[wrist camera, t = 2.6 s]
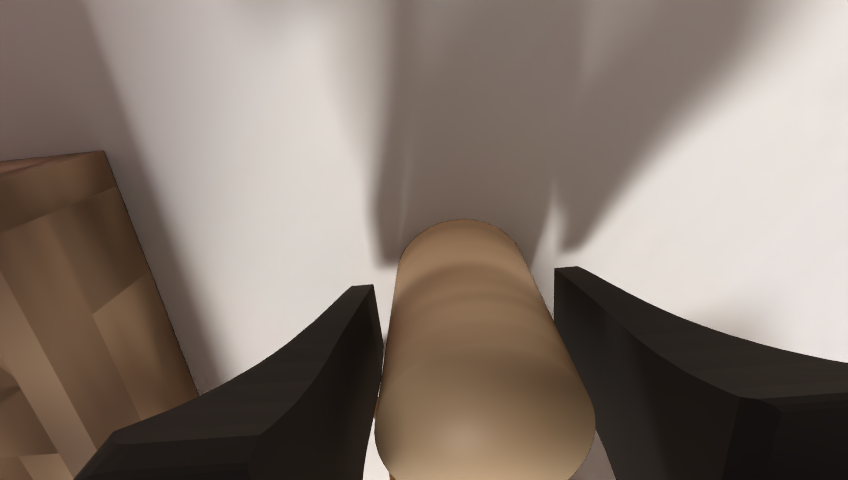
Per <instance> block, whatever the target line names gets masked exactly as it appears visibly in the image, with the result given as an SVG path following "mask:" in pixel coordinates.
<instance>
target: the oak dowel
mask: <svg viewBox="0 0 848 480" xmlns="http://www.w3.org/2000/svg"><path fill="white" fill-rule="evenodd" d="M374 434H375V443H376V447H377V450H378V454H379V456H380V458H381V460H382V462H383V464H384V465H385V467H386V468H387V470H388V471H389V473H390V474H391V475H392V476H393V477H394V478H395V479H396V480H568V479H569V478H570V477H571V476H572V475H573V474H574V473H575V472H576V471H577V470H578V469H579V467H580V466H581V464H582V463H583V462H584V460H585V459H586V457H587V455H588V453H589V451H590V449H591V446H592V443H593V440H594V434H595V414H594V409H593V405H592V402H591V400H590V397H589V395H588V393H587V391H586V389H585V387H584V384H583V382H582V380H581V378H580V376H579V374H578V372H577V370H576V368H575V366H574V363H573V361H572V359H571V357H570V355H569V353H568V351H567V349H566V347H565V344H564V342H563V340H562V338H561V336H560V334H559V332H558V330H557V328H556V325H555V323H554V321H553V319H552V317H551V315H550V313H549V311H548V309H547V306H546V304H545V302H544V300H543V298H542V296H541V294H540V292H539V290H538V287H537V285H536V283H535V281H534V279H533V277H532V275H531V273H530V271H529V268H528V266H527V264H526V262H525V260H524V258H523V256H522V254H521V252H520V250H519V248H518V247H517V245H516V244H515V243H514V241H513V240H512V239H511V238H510V237H509V236H508V235H507V234H505V233H504V232H503V231H501V230H500V229H498V228H496V227H494V226H492V225H490V224H487V223H484V222H480V221H476V220H467V219H460V220H451V221H446V222H442V223H439V224H436V225H434V226H432V227H430V228H428V229H426V230H425V231H423V232H422V233H420V234H419V235H418V236H416V237H415V238H414V239H413V240H412V241H411V243H410V244H409V245H408V246H407V248H406V249H405V251H404V253H403V254H402V256H401V259H400V262H399V265H398V269H397V275H396V282H395V289H394V296H393V303H392V309H391V316H390V323H389V330H388V337H387V344H386V350H385V357H384V364H383V371H382V378H381V384H380V391H379V398H378V405H377V412H376V419H375V430H374Z"/></svg>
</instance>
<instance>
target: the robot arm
mask: <svg viewBox="0 0 848 480" xmlns="http://www.w3.org/2000/svg"><path fill="white" fill-rule="evenodd" d="M554 323H555V325H556V328H557V330H558V332H559V334H560V336H561V338H562V340H563V342H564V344H565V347H566V349H567V351H568V353H569V355H570V357H571V359H572V361H573V363H574V366H575V368H576V370H577V372H578V374H579V376H580V378H581V380H582V382H583V384H584V387H585V389H586V391H587V393H588V395H589V397H590V400H591V402H592V405H593V409H594V414H595V428H596V430H597V432H598V434H599V437H600V439H601V441H602V444H603V446H604V448H605V450H606V453H607V456H608V458H609V461H610V464H611V467H612V469H613V472H614V475H615V477H616V480H848V363H844V362H838V361H832V360H827V359H822V358H818V357H813V356H809V355H804V354H800V353H795V352H791V351H786V350H782V349H778V348H774V347H770V346H766V345H762V344H759V343H755V342H752V341H748V340H745V339H742V338H738V337H735V336H731V335H728V334H725V333H722V332H719V331H716V330H713V329H710V328H707V327H705V326H702V325H699V324H697V323H694V322H691V321H689V320H686V319H683V318H681V317H678V316H676V315H674V314H671V313H669V312H667V311H664V310H662V309H660V308H658V307H656V306H654V305H651V304H649V303H647V302H645V301H643V300H641V299H639V298H637V297H635V296H633V295H631V294H629V293H627V292H625V291H624V290H622V289H620V288H618V287H616V286H614V285H612V284H611V283H609V282H607V281H605V280H603V279H602V278H600V277H598V276H596V275H594V274H592V273H590V272H589V271H587V270H585V269H583V268H580V267H578V266H575V267H564V268H554ZM383 349H384V345H383V339H382V333H381V327H380V321H379V315H378V309H377V303H376V297H375V291H374V285H373V284H371V285H359V286H351V287H350V288H349V289H348V290H347V291H345V292H344V293H343V294H342V295H341V296H340V297H339V298H338V299H337V300H336V301H335V302H334V303H333V304H332V305H331V306H330V307H329V308H328V309H327V310H326V311H324V312H323V313H322V314H321V315H320V316H319V317H318V318H317V319H316V320H315V321H314V322H313V323H311V324H310V325H309V326H308V327H307V328H305V329H304V330H303V331H302V332H301V333H299V334H298V335H297V336H296V337H295V338H293V339H292V340H291V341H290V342H289V343H287V344H286V345H285V346H283V347H282V348H281V349H279V350H278V351H276V352H275V353H274V354H272V355H271V356H269V357H268V358H266V359H265V360H263V361H262V362H260V363H259V364H257V365H256V366H254V367H252V368H250V369H249V370H247V371H245V372H244V373H242V374H240V375H238V376H237V377H235V378H233V379H231V380H230V381H228V382H226V383H224V384H223V385H221V386H219V387H217V388H215V389H213V390H211V391H209V392H207V393H205V394H203V395H201V396H199V397H197V398H194V399H192V400H190V401H188V402H186V403H184V404H181V405H179V406H177V407H175V408H172V409H170V410H168V411H165V412H163V413H160V414H157V415H155V416H152V417H150V418H147V419H145V420H142V421H140V422H137V423H134V424H132V425H129V426H127V427H124V428H121V429H118V430H115V431H113V432H112V434H111V435H110V436H109V437H108V438H107V440H106V441H105V442H104V443H103V444H102V446H101V447H100V448H99V449H98V450H97V452H96V453H95V454H94V455H93V456H92V457H91V459H90V460H89V461H88V462H87V463H86V465H85V466H84V467H83V468H82V469H81V471H80V472H79V473H78V474H77V475H76V477H75V478H74V479H73V480H363V471H364V463H365V457H366V451H367V446H368V441H369V436H370V431H371V427H372V422H373V417H374V412H375V407H376V403H377V398H378V393H379V388H380V383H381V378H382V365H383Z"/></svg>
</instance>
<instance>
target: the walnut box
mask: <svg viewBox="0 0 848 480" xmlns="http://www.w3.org/2000/svg"><path fill="white" fill-rule="evenodd" d="M197 397H199V396H198V393H197V390H196V388H195V385H194V383H193V380H192V378H191V375H190V372H189V370H188V367H187V365H186V362H185V360H184V357H183V354H182V352H181V349H180V347H179V344H178V341H177V339H176V336H175V334H174V331H173V329H172V326H171V323H170V321H169V318H168V316H167V313H166V311H165V308H164V305H163V303H162V300H161V298H160V295H159V293H158V290H157V287H156V285H155V282H154V280H153V277H152V274H151V272H150V269H149V267H148V264H147V262H146V259H145V256H144V254H143V251H142V249H141V246H140V244H139V241H138V238H137V236H136V233H135V231H134V228H133V226H132V223H131V220H130V218H129V215H128V213H127V210H126V208H125V205H124V202H123V200H122V197H121V195H120V192H119V189H118V187H117V184H116V182H115V179H114V177H113V174H112V171H111V169H110V166H109V164H108V161H107V159H106V156H105V153H104V151H95V152H86V153H76V154H67V155H57V156H48V157H39V158H29V159H20V160H10V161H1V162H0V480H73V479H74V478H75V477H76V475H77V474H78V473H79V472H80V471H81V469H82V468H83V467H84V466H85V465H86V463H87V462H88V461H89V460H90V459H91V457H92V456H93V455H94V454H95V453H96V452H97V450H98V449H99V448H100V447H101V446H102V444H103V443H104V442H105V441H106V440H107V438H108V437H109V436H110V435H111V434H112V432H113V431H115V430H118V429H121V428H124V427H127V426H129V425H132V424H134V423H137V422H140V421H142V420H145V419H147V418H150V417H152V416H155V415H157V414H160V413H163V412H165V411H168V410H170V409H172V408H175V407H177V406H179V405H181V404H184V403H186V402H188V401H190V400H192V399H194V398H197Z"/></svg>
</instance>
